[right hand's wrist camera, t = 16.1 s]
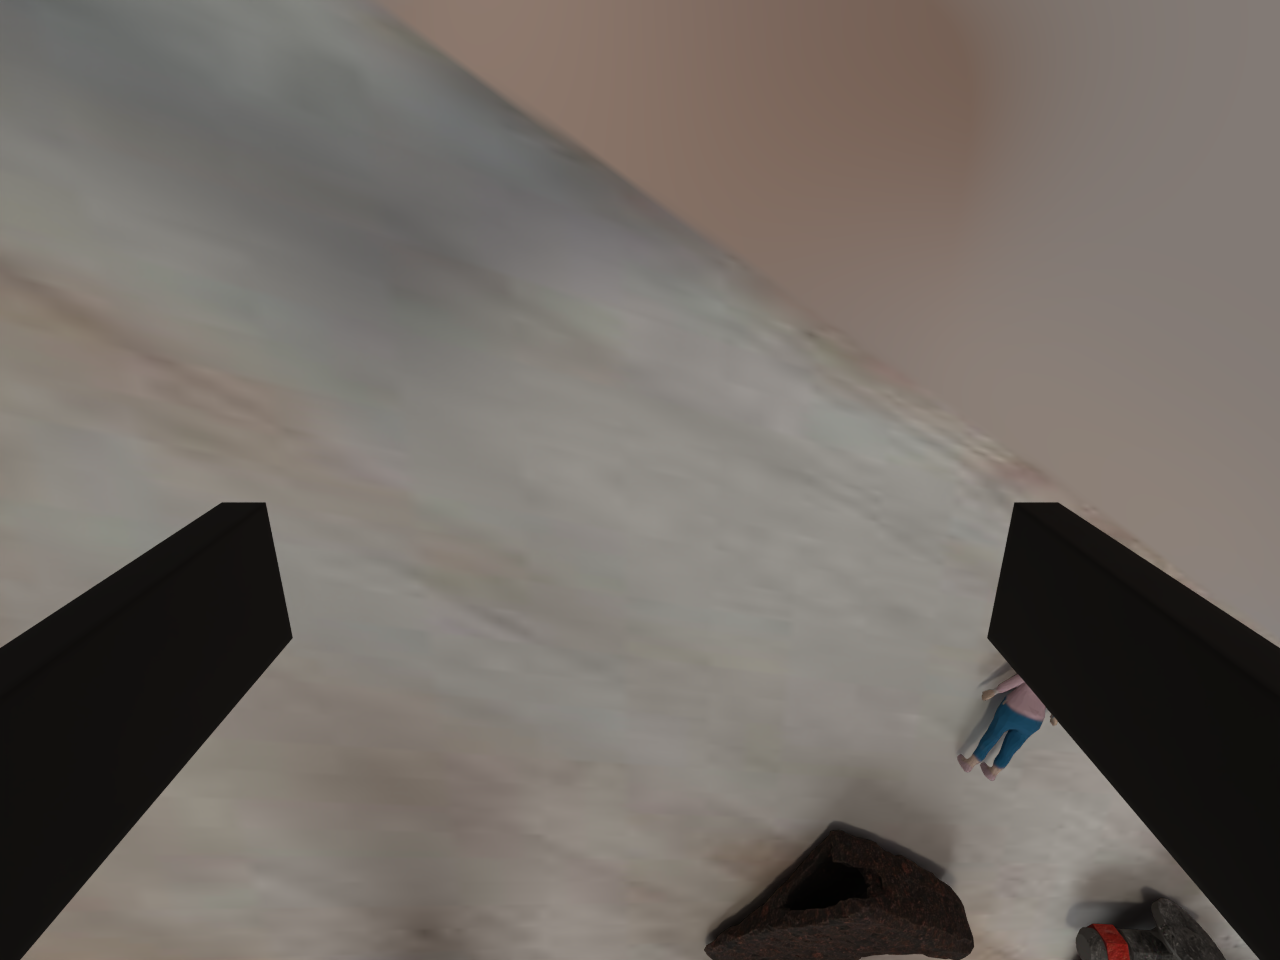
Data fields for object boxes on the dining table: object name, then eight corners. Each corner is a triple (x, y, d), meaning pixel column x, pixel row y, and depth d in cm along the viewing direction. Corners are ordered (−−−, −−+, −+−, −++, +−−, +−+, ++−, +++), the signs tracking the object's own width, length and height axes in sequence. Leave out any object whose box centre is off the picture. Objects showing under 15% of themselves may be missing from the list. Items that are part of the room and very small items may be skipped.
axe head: (854, 1042, 60) (706, 1041, 55) (822, 940, 66) (687, 931, 61) (999, 944, 51) (839, 932, 46) (945, 837, 58) (800, 816, 52)
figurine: (998, 764, 53) (1122, 613, 48) (1027, 812, 49) (1165, 654, 44) (931, 740, 53) (1049, 585, 47) (954, 787, 49) (1086, 623, 43)
